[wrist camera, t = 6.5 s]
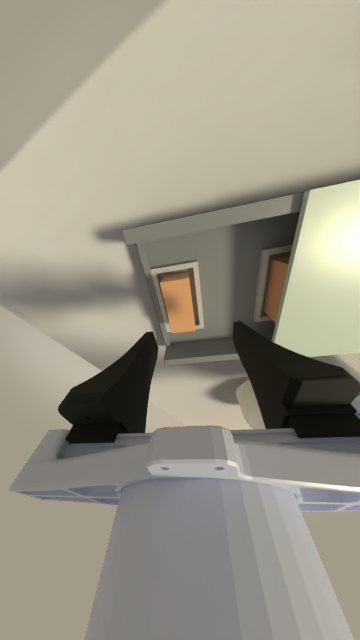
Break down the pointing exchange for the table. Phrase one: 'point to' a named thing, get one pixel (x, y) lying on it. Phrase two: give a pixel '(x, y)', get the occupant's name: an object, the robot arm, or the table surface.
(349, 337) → the lid
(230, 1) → the table surface
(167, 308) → the block
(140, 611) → the robot arm
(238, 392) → the teardrop
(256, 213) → the housing
